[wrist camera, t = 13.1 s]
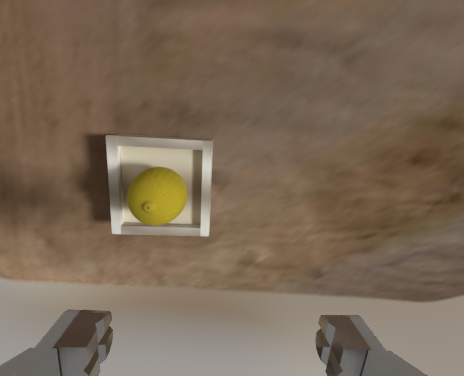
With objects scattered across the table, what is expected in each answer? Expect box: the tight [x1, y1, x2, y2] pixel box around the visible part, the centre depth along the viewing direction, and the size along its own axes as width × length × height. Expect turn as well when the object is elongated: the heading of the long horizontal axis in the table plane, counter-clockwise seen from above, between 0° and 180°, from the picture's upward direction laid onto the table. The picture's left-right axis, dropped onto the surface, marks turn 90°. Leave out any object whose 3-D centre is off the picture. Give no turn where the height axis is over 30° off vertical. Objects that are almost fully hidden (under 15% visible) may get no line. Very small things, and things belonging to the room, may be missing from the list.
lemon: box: [127, 167, 187, 225], centre depth 24 cm, size 6×6×8 cm
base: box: [106, 134, 213, 236], centre depth 29 cm, size 11×11×4 cm
